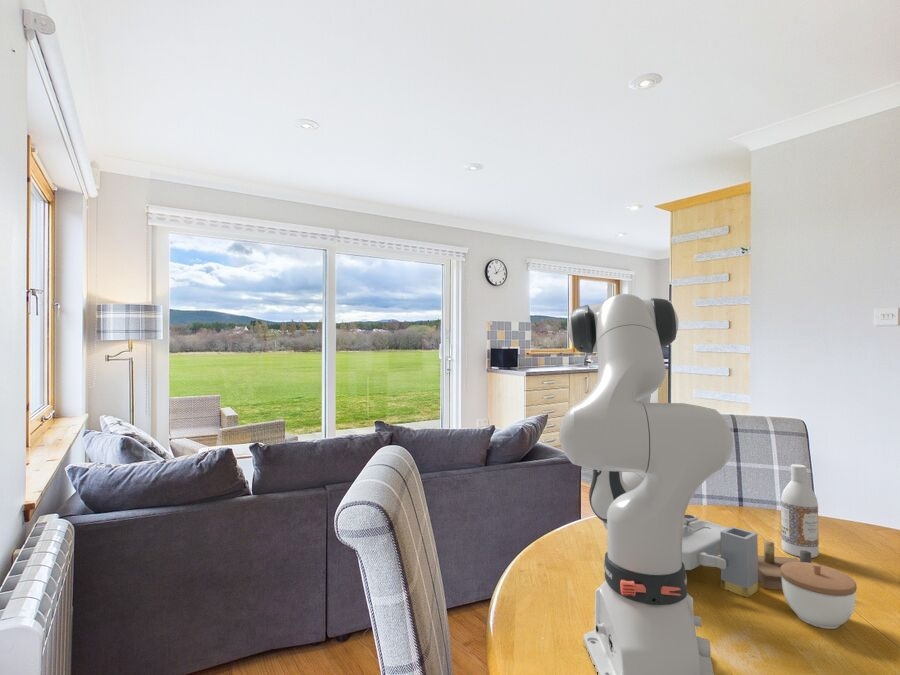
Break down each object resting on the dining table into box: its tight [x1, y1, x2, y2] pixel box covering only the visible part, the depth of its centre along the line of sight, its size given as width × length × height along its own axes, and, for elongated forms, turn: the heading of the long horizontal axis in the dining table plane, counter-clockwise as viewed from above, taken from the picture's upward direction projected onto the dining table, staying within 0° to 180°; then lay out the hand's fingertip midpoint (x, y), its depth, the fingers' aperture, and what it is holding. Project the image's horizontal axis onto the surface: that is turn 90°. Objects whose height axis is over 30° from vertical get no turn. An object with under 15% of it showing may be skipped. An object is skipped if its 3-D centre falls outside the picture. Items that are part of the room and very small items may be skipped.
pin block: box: [758, 540, 812, 591], centre depth 101 cm, size 10×10×6 cm
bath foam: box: [780, 463, 820, 559], centre depth 114 cm, size 7×7×20 cm
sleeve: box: [719, 525, 760, 598], centre depth 98 cm, size 5×5×11 cm
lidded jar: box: [780, 562, 858, 630], centre depth 87 cm, size 11×11×9 cm
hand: (738, 557), depth 98 cm, fingers open, 8 cm apart
